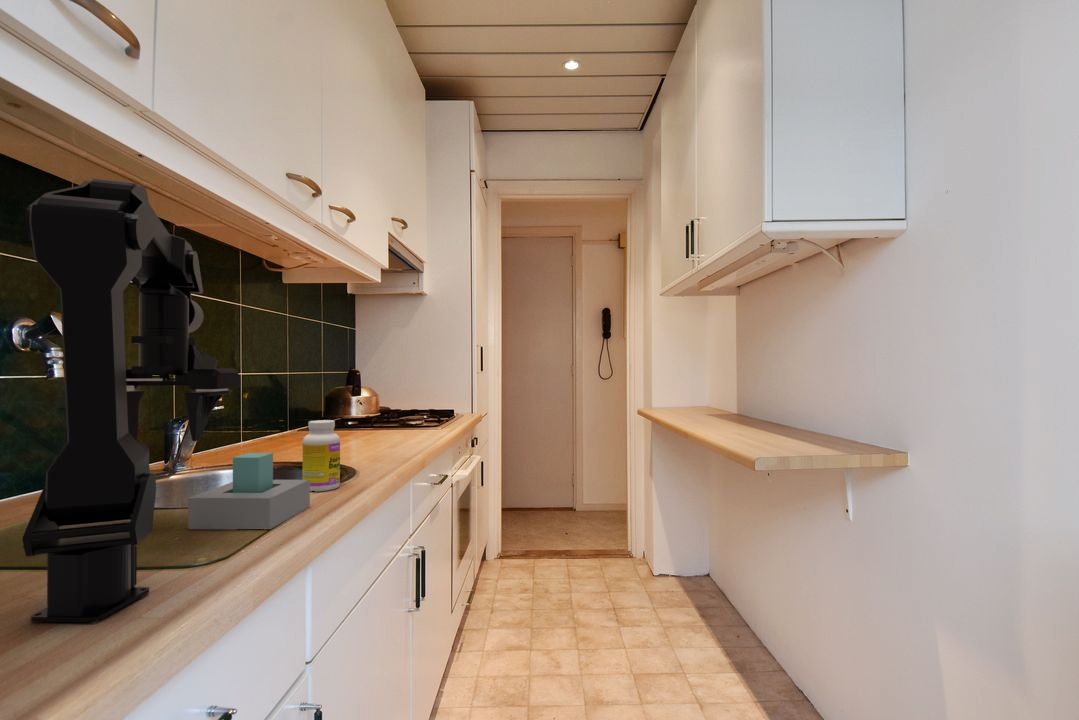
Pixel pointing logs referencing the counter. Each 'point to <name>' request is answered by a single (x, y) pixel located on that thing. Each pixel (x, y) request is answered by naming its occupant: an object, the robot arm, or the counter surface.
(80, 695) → the counter surface
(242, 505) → the well block
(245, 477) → the teal block
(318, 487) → the supplement bottle
